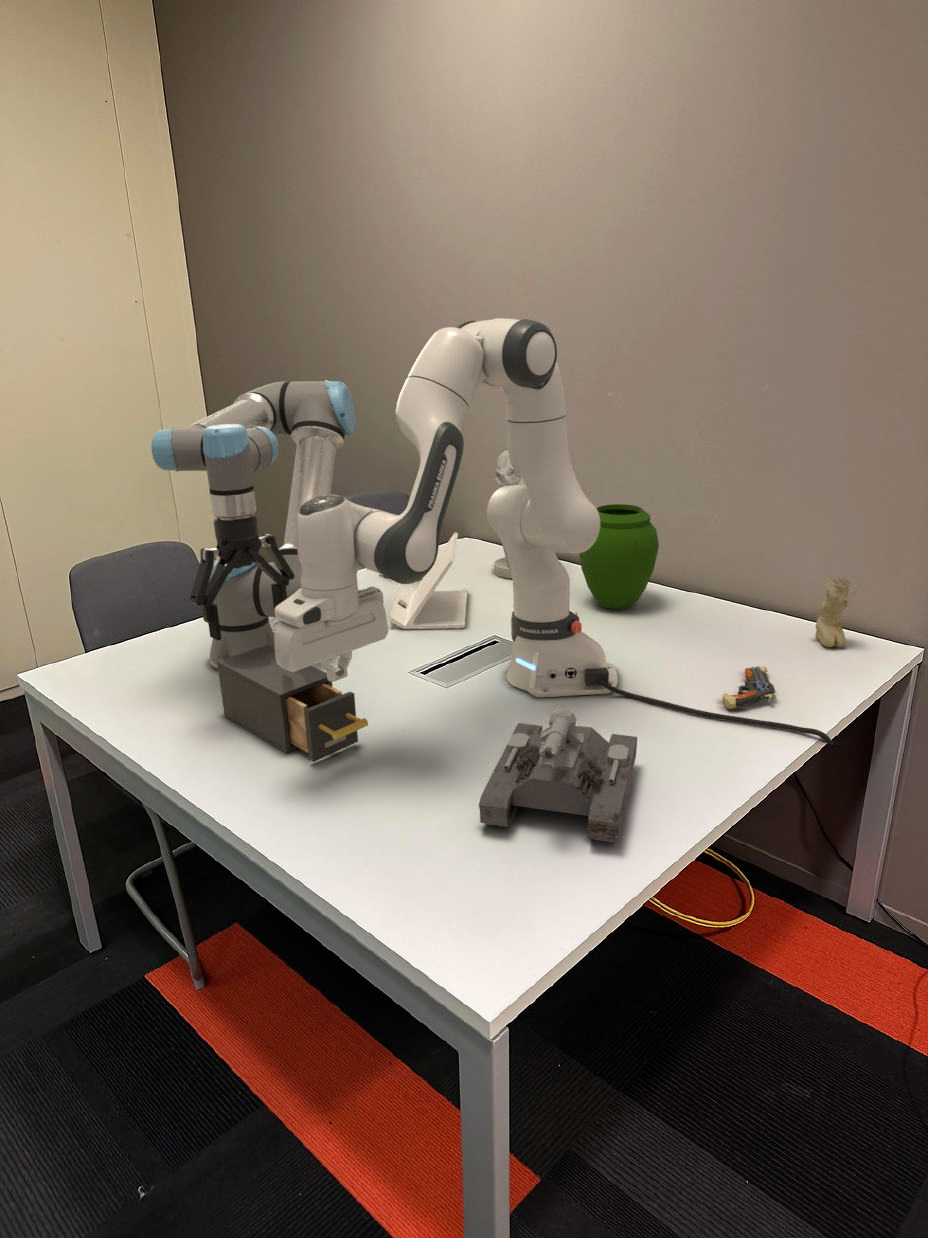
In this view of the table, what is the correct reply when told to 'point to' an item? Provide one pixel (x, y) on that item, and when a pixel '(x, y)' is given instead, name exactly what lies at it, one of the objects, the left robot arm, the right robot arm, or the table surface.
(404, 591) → the tablet stand
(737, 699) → the toy gun
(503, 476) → the bust sculpture
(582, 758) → the toy
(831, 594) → the sculpture
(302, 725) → the drawer
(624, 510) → the vase
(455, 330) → the right robot arm
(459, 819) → the table surface
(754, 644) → the table surface
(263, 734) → the cabinet
